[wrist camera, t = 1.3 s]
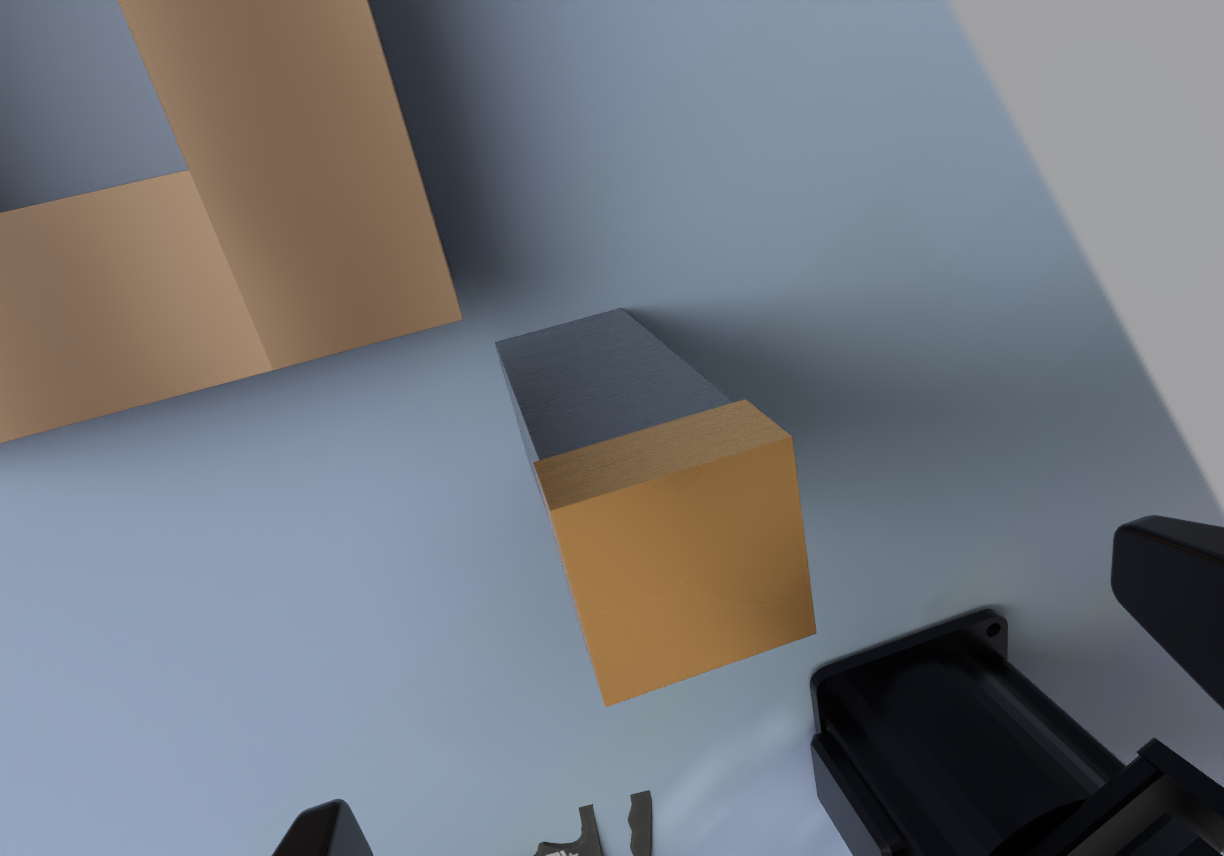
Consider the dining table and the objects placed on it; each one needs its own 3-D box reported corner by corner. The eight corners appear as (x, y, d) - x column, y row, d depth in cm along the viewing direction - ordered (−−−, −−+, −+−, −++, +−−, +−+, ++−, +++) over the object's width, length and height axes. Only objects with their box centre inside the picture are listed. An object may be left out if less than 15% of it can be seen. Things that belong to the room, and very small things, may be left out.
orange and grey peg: (624, 302, 17) (792, 436, 9) (650, 426, 18) (816, 633, 11) (489, 339, 17) (550, 511, 9) (525, 463, 18) (605, 707, 10)
